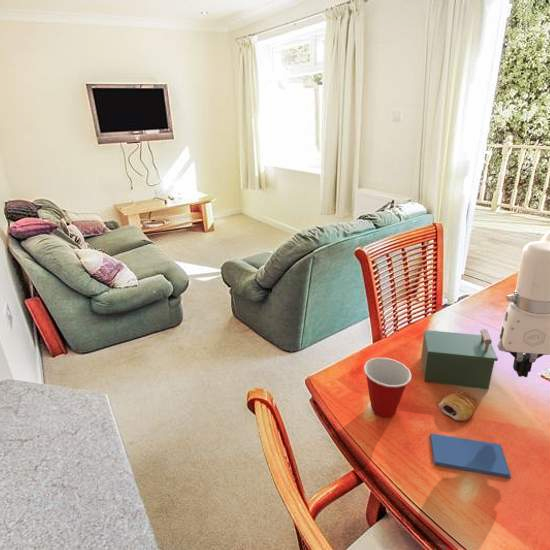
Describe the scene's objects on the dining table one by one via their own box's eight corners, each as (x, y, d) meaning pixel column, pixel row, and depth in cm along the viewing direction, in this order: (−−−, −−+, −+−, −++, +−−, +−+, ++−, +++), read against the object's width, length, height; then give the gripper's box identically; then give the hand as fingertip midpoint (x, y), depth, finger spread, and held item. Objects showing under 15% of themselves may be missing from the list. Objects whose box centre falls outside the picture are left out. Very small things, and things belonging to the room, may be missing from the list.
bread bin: (479, 364, 106) (484, 337, 102) (488, 389, 96) (494, 361, 93) (421, 358, 110) (424, 332, 106) (424, 381, 101) (427, 354, 97)
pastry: (458, 393, 96) (460, 381, 94) (484, 409, 90) (487, 396, 89) (435, 409, 91) (437, 397, 90) (461, 426, 86) (463, 414, 84)
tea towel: (499, 445, 80) (500, 442, 80) (510, 478, 73) (511, 475, 73) (430, 434, 84) (430, 431, 84) (434, 464, 77) (434, 461, 77)
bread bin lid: (487, 338, 102) (490, 324, 100) (497, 361, 93) (500, 346, 91) (424, 332, 106) (425, 318, 105) (427, 354, 97) (429, 339, 95)
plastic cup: (415, 422, 88) (421, 381, 83) (372, 429, 86) (374, 388, 82) (395, 391, 98) (398, 353, 93) (355, 397, 96) (357, 359, 92)
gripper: (499, 308, 76) (487, 380, 83) (587, 312, 72) (566, 387, 79) (490, 292, 82) (480, 360, 90) (570, 294, 78) (552, 365, 86)
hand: (520, 372), depth 84 cm, fingers closed
